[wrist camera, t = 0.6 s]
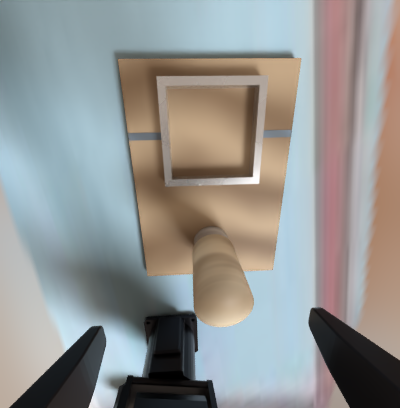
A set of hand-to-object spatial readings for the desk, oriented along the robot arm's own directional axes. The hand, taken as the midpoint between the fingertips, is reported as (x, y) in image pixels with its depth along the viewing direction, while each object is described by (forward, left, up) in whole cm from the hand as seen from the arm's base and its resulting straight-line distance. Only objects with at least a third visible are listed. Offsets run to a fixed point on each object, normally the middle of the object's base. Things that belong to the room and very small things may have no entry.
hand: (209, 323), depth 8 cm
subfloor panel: (+3, -1, -13) cm, 13 cm away
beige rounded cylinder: (-3, -1, -12) cm, 12 cm away
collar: (+7, -1, -13) cm, 15 cm away
